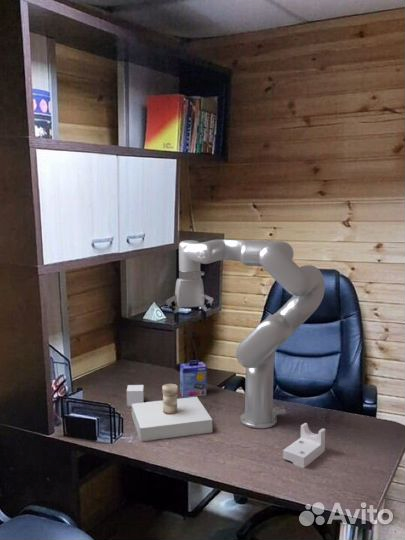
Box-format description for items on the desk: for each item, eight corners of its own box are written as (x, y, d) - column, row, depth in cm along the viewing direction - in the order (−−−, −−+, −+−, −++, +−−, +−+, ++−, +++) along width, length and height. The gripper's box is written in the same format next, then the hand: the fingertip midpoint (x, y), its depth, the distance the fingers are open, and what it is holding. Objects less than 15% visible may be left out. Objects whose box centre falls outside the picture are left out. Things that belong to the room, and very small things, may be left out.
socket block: (196, 408, 201) (196, 396, 200) (212, 432, 182) (212, 419, 181) (131, 415, 194) (131, 403, 194) (140, 441, 175) (140, 428, 175)
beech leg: (176, 418, 191) (175, 383, 189) (179, 424, 186) (179, 388, 184) (161, 420, 190) (160, 384, 188) (164, 426, 185) (164, 390, 183)
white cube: (126, 406, 203) (126, 391, 202) (128, 400, 209) (127, 385, 208) (143, 406, 203) (142, 390, 202) (143, 399, 209) (143, 384, 208)
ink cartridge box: (182, 398, 210) (182, 362, 207) (179, 393, 215) (178, 358, 212) (207, 395, 213) (207, 360, 210) (203, 390, 218) (203, 355, 215)
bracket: (304, 445, 174) (304, 422, 172) (324, 452, 169) (325, 429, 168) (282, 461, 164) (283, 437, 163) (303, 469, 159) (304, 444, 158)
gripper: (210, 272, 200) (210, 318, 203) (163, 274, 195) (164, 321, 198) (216, 276, 193) (215, 323, 196) (168, 278, 188) (168, 326, 191)
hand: (189, 322), depth 197 cm, fingers open, 9 cm apart
